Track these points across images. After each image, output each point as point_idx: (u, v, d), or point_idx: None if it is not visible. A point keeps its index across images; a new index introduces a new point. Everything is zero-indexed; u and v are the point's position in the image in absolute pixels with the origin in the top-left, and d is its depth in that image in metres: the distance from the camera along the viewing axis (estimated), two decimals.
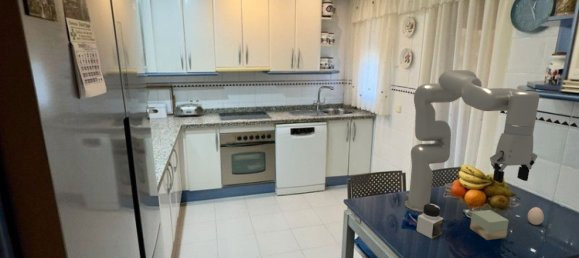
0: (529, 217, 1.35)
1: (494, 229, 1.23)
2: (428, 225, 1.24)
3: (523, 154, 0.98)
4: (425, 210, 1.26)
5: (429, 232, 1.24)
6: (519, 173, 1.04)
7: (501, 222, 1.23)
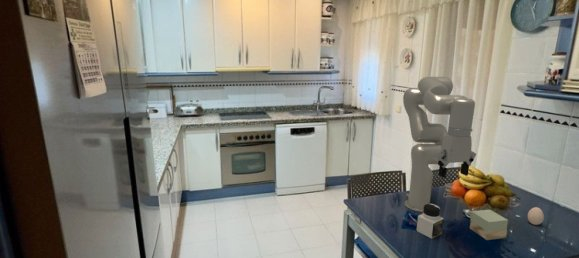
0: (529, 217, 1.35)
1: (493, 229, 1.23)
2: (428, 225, 1.24)
3: (462, 153, 1.13)
4: (425, 210, 1.26)
5: (429, 232, 1.24)
6: (461, 169, 1.19)
7: (501, 222, 1.23)
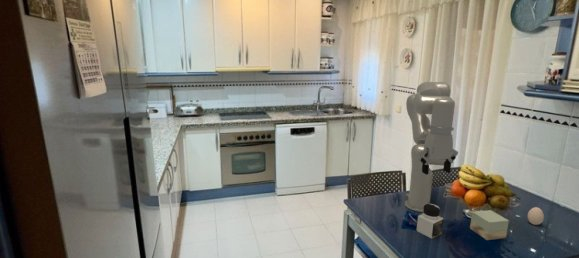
0: (529, 217, 1.35)
1: (494, 229, 1.23)
2: (428, 225, 1.24)
3: (444, 150, 1.19)
4: (425, 210, 1.26)
5: (429, 232, 1.24)
6: (444, 166, 1.25)
7: (501, 222, 1.23)
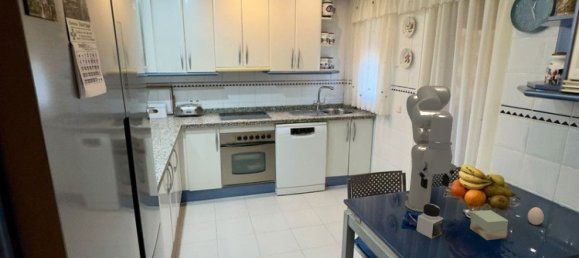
0: (529, 217, 1.35)
1: (493, 229, 1.23)
2: (428, 225, 1.24)
3: (442, 165, 1.20)
4: (425, 210, 1.26)
5: (429, 232, 1.24)
6: (443, 180, 1.25)
7: (500, 222, 1.23)
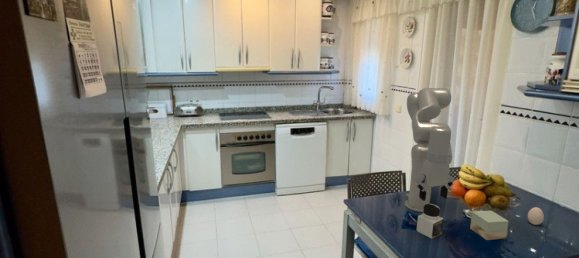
0: (529, 217, 1.35)
1: (493, 229, 1.23)
2: (428, 225, 1.24)
3: (441, 177, 1.21)
4: (425, 210, 1.26)
5: (429, 232, 1.24)
6: (441, 192, 1.27)
7: (501, 222, 1.23)
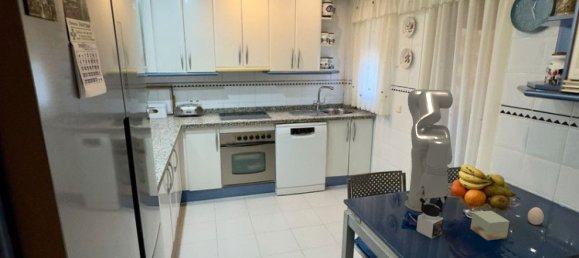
0: (529, 217, 1.35)
1: (494, 230, 1.23)
2: (428, 225, 1.24)
3: (439, 189, 1.22)
4: None
5: (429, 232, 1.24)
6: (436, 205, 1.28)
7: (502, 223, 1.23)
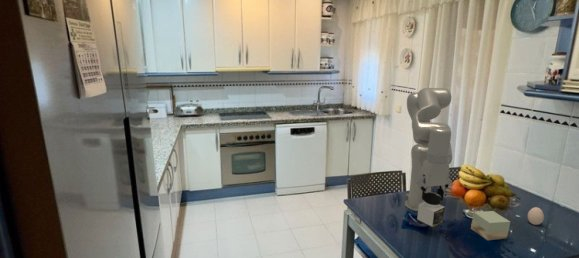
0: (529, 217, 1.35)
1: (494, 230, 1.23)
2: (429, 213, 1.24)
3: (440, 177, 1.22)
4: None
5: (430, 220, 1.24)
6: None
7: (502, 223, 1.23)
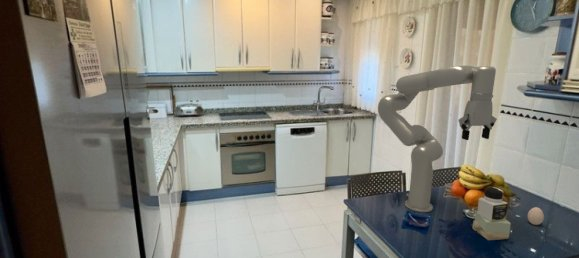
0: (529, 217, 1.35)
1: (492, 230, 1.23)
2: (488, 207, 1.23)
3: (484, 116, 1.24)
4: (486, 192, 1.25)
5: (489, 214, 1.23)
6: (483, 133, 1.30)
7: (502, 224, 1.22)
